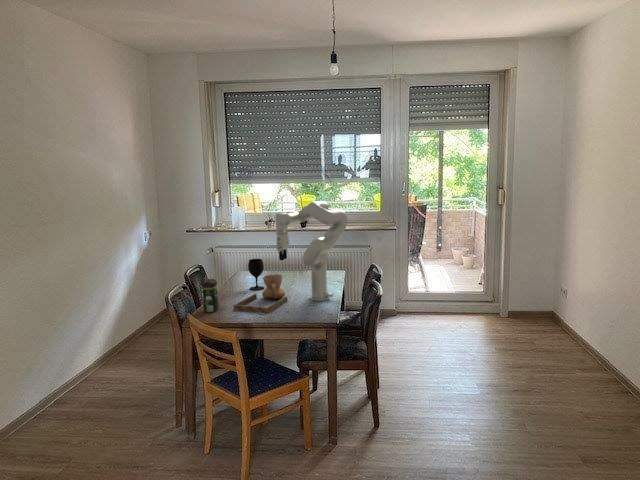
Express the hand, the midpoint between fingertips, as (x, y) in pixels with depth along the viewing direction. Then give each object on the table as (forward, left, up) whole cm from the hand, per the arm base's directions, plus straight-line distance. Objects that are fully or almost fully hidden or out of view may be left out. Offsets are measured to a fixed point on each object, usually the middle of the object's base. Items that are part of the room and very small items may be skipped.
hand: (283, 259), depth 326 cm
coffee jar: (+24, +49, -22) cm, 59 cm away
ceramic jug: (0, +15, -23) cm, 27 cm away
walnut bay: (0, +31, -22) cm, 39 cm away
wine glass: (+22, -3, -22) cm, 32 cm away
